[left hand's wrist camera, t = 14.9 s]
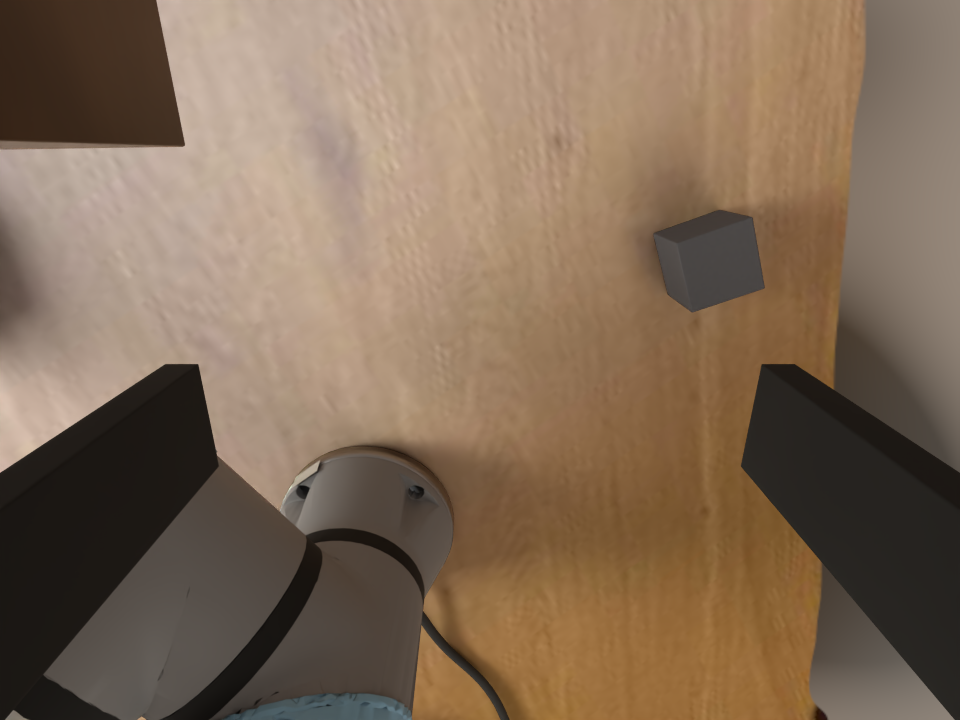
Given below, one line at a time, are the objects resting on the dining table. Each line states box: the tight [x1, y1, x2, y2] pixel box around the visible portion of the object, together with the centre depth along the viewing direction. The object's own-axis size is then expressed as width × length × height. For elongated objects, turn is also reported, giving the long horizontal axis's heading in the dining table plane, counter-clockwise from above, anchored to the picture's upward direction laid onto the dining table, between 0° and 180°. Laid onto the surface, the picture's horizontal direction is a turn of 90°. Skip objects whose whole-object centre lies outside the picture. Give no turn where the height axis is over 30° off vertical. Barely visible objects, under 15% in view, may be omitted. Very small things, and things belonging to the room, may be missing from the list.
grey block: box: [653, 210, 765, 312], centre depth 37 cm, size 5×5×5 cm
